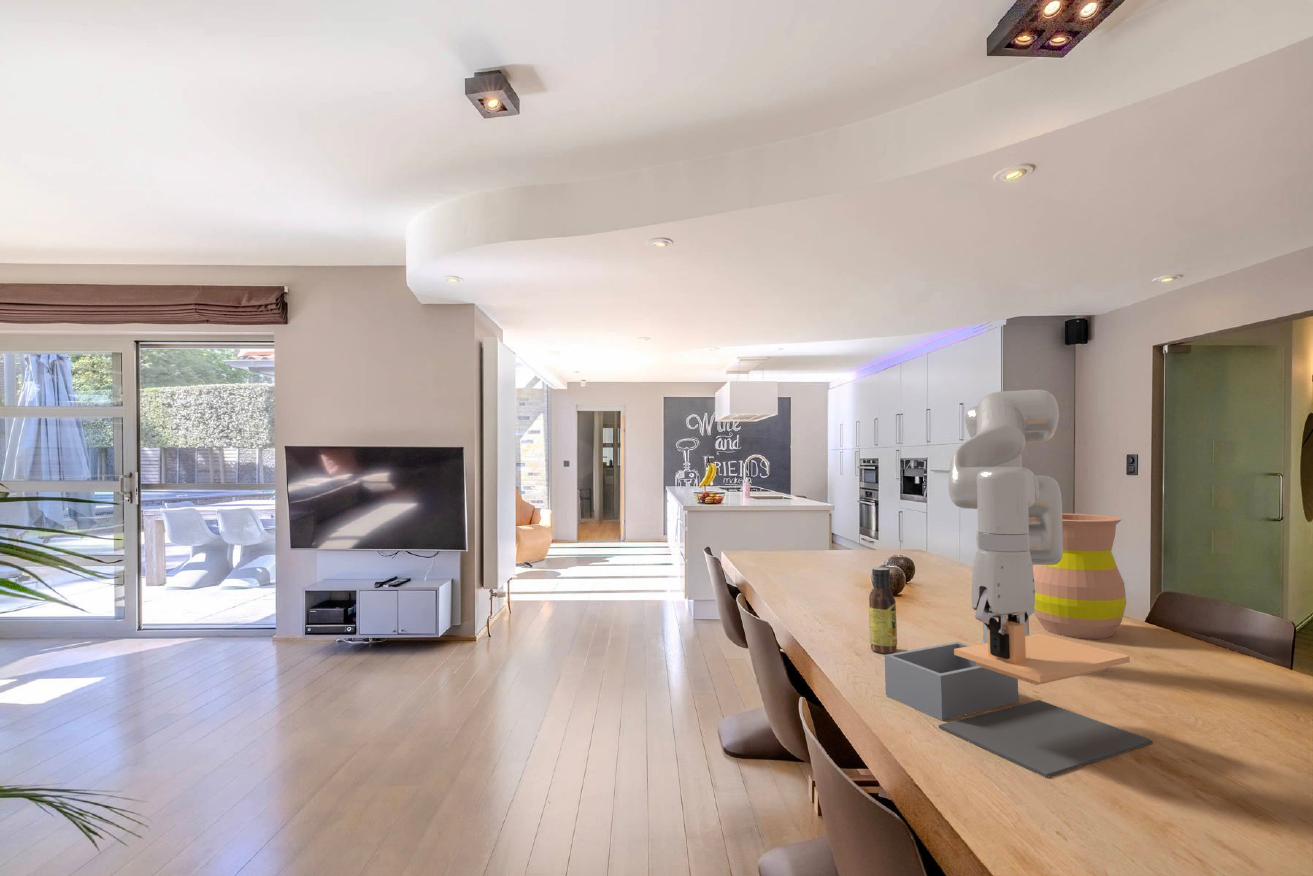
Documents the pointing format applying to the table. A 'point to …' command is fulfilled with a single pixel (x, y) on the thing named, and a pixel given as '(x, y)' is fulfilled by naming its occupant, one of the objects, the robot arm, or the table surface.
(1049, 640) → the lid
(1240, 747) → the table surface
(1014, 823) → the table surface
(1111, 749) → the mat
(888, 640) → the sauce bottle
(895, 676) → the tub
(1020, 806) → the table surface
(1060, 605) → the vase
